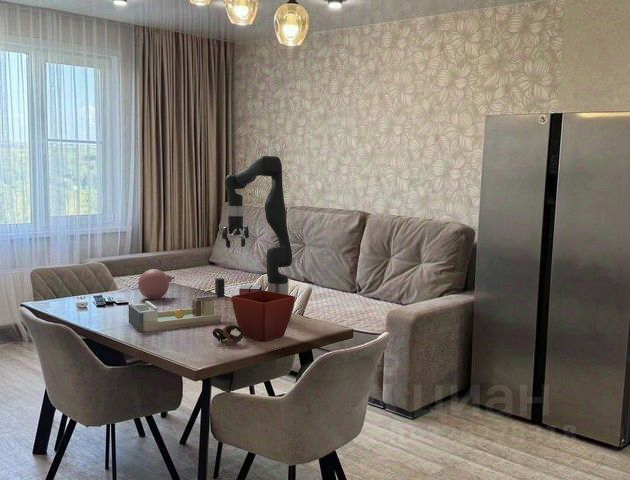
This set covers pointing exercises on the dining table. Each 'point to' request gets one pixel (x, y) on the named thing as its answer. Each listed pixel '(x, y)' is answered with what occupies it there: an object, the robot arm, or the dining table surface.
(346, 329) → the dining table surface
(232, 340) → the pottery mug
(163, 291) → the balloon
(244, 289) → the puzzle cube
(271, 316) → the plant pot
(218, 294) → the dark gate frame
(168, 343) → the dining table surface
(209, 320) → the tray with compartments
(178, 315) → the ball
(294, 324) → the dining table surface
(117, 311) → the dining table surface
